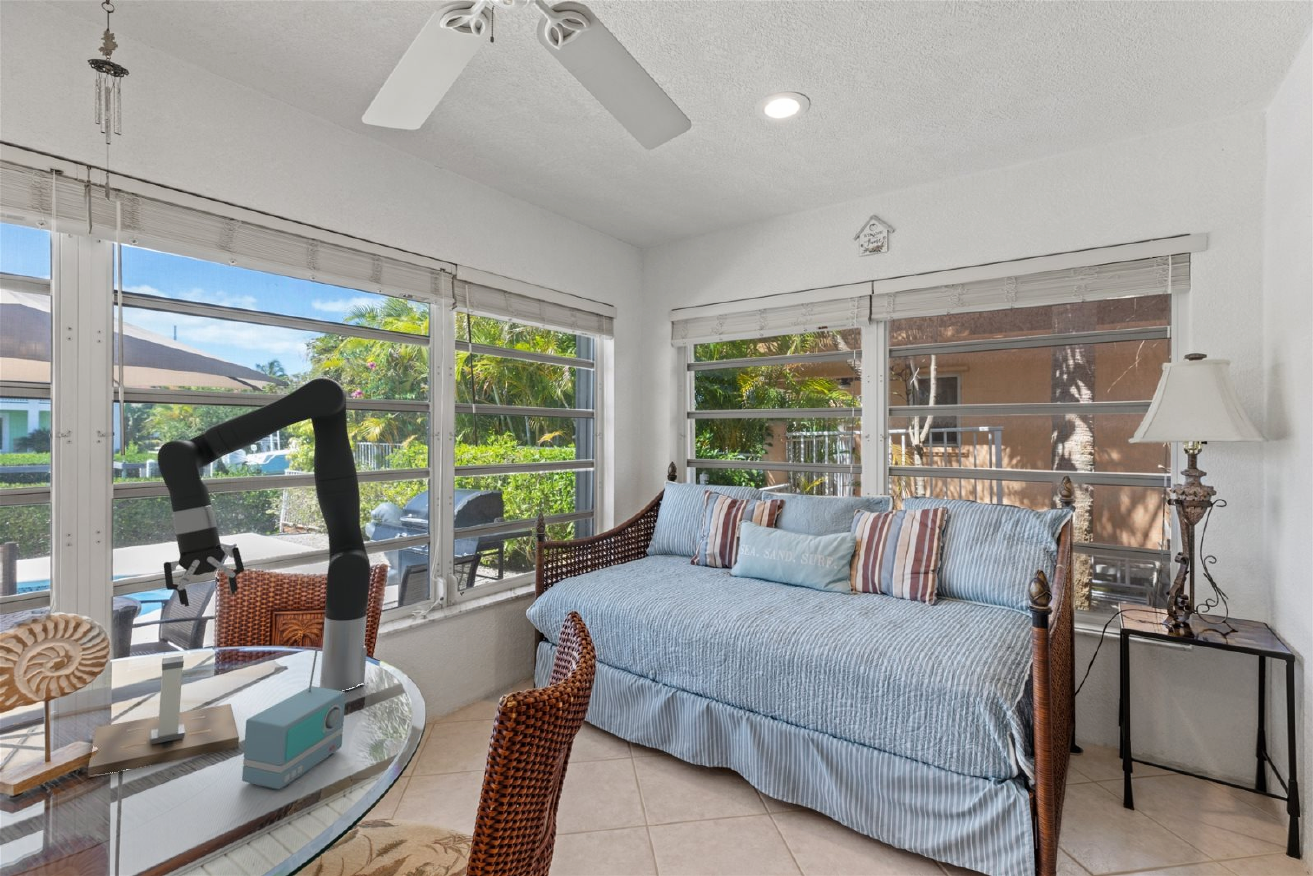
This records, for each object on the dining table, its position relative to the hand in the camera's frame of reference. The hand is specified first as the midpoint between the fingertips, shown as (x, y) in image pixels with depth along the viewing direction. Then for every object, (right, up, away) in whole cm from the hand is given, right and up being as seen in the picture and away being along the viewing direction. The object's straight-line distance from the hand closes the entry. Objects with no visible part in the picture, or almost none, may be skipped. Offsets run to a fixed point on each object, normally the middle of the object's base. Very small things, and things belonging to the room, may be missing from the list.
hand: (210, 600), depth 142 cm
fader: (+6, -21, -20) cm, 30 cm away
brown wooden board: (+4, -23, -18) cm, 30 cm away
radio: (+32, -26, -23) cm, 47 cm away
